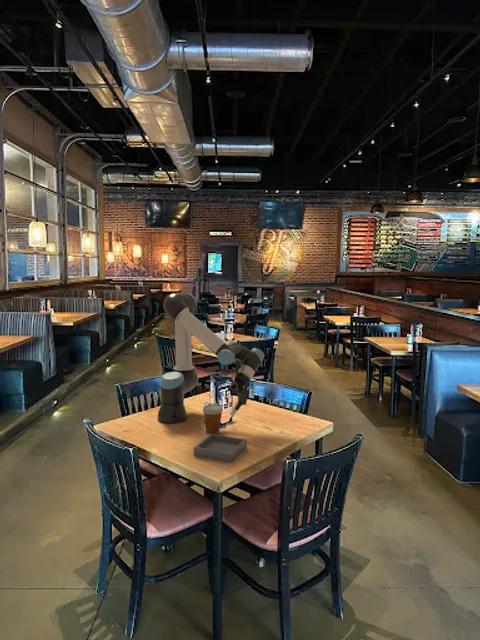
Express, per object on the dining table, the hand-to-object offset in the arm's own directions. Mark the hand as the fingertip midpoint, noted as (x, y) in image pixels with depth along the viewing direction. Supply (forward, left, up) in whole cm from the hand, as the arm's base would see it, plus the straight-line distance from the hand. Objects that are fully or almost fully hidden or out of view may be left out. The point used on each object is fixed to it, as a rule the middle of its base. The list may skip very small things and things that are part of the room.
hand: (221, 411), depth 210 cm
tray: (+10, -22, -9) cm, 26 cm away
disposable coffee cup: (-3, -3, -9) cm, 10 cm away
